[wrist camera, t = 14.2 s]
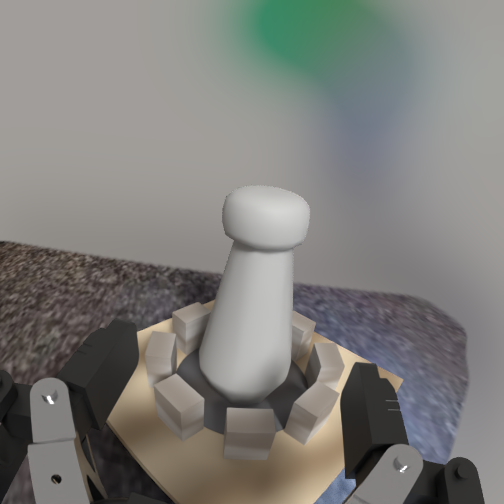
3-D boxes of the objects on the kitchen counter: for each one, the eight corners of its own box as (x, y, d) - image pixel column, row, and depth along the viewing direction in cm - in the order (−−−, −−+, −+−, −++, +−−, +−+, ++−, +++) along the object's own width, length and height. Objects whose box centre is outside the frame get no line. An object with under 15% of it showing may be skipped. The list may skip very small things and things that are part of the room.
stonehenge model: (71, 369, 20) (59, 327, 18) (238, 297, 33) (242, 262, 31) (248, 565, 9) (259, 553, 8) (398, 388, 22) (418, 351, 21)
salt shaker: (243, 431, 17) (281, 217, 12) (180, 379, 20) (183, 183, 15) (299, 383, 21) (348, 200, 16) (239, 344, 24) (261, 175, 19)
